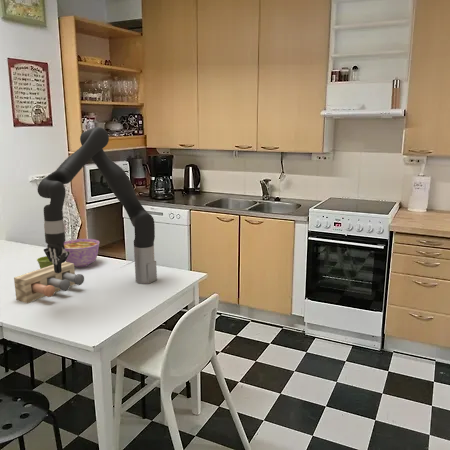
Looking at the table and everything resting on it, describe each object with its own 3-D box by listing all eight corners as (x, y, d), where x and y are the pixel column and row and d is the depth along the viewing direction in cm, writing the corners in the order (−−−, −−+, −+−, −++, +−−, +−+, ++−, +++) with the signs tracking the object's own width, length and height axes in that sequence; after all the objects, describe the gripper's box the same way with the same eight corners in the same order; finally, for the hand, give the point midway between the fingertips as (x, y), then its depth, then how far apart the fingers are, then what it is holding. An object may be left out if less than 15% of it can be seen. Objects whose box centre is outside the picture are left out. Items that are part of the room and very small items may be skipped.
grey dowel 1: (70, 288, 201) (69, 278, 199) (61, 292, 196) (60, 281, 195) (53, 284, 206) (52, 274, 205) (44, 287, 202) (43, 277, 201)
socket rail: (75, 284, 214) (73, 263, 212) (27, 303, 193) (24, 280, 190) (65, 281, 218) (63, 261, 216) (16, 299, 196) (13, 277, 194)
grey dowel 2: (84, 283, 207) (83, 273, 206) (76, 286, 203) (75, 276, 202) (67, 279, 213) (66, 269, 212) (59, 282, 209) (58, 272, 207)
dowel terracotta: (55, 294, 194) (54, 284, 193) (46, 298, 190) (44, 287, 189) (38, 290, 199) (37, 279, 198) (28, 293, 195) (27, 283, 194)
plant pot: (34, 277, 224) (32, 260, 222) (48, 271, 232) (46, 254, 230) (49, 279, 221) (47, 262, 219) (62, 273, 229) (61, 256, 227)
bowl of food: (59, 261, 248) (58, 240, 245) (98, 257, 256) (96, 237, 253) (62, 272, 230) (60, 250, 227) (103, 267, 238) (102, 246, 235)
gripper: (73, 231, 182) (76, 272, 186) (51, 226, 189) (54, 267, 193) (58, 235, 176) (61, 278, 180) (35, 230, 183) (39, 272, 186)
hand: (58, 272), depth 186 cm, fingers closed
